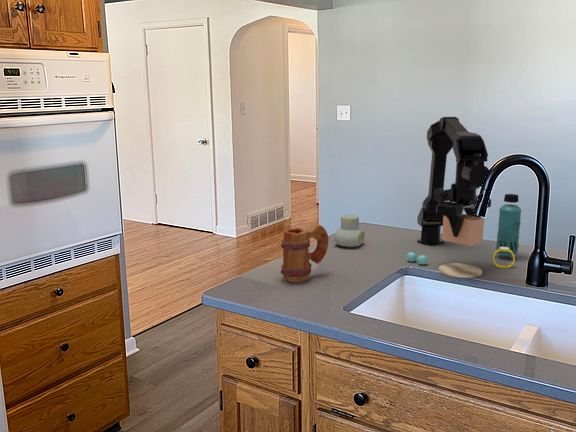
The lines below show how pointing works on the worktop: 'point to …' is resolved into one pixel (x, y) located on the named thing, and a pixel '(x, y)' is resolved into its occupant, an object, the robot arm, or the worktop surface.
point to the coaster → (460, 270)
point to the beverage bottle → (509, 226)
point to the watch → (503, 250)
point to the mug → (302, 252)
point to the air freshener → (349, 232)
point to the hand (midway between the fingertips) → (462, 234)
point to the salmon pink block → (465, 231)
